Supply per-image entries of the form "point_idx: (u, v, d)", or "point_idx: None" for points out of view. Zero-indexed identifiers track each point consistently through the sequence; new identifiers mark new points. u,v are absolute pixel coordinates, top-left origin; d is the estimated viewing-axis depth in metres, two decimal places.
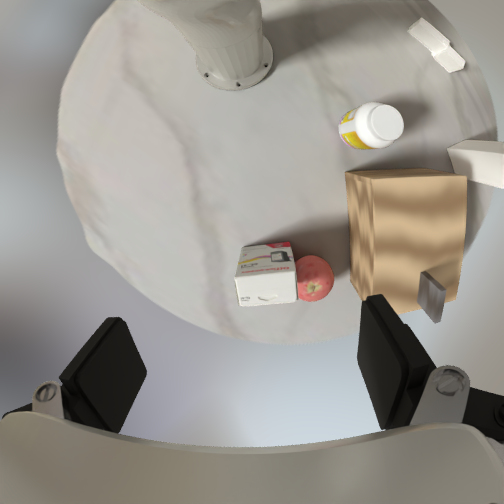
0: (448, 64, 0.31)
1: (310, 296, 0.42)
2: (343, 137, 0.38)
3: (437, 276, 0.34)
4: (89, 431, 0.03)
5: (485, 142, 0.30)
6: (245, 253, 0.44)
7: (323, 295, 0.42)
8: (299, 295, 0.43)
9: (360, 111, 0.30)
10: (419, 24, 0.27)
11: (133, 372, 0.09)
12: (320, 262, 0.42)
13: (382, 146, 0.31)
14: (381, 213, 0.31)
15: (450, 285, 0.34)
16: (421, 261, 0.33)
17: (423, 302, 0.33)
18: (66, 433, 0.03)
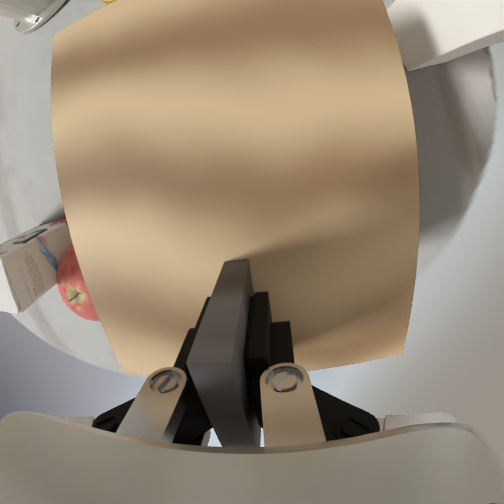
0: None
1: (75, 310, 0.20)
2: None
3: (311, 281, 0.11)
4: (89, 431, 0.03)
5: None
6: (22, 233, 0.22)
7: None
8: None
9: None
10: None
11: None
12: None
13: None
14: (63, 94, 0.09)
15: (377, 313, 0.12)
16: (217, 222, 0.11)
17: None
18: (66, 433, 0.03)
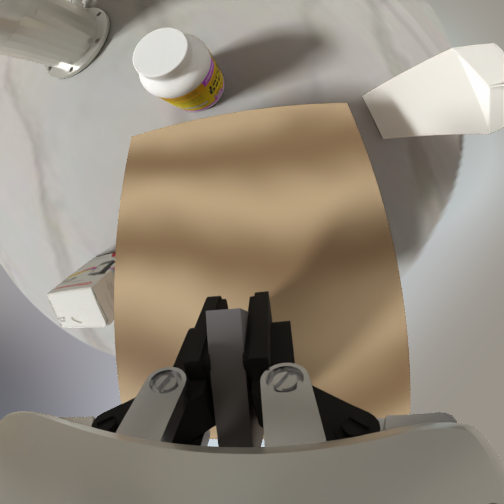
0: None
1: None
2: None
3: (313, 338, 0.13)
4: (90, 431, 0.03)
5: None
6: (85, 265, 0.32)
7: None
8: None
9: None
10: None
11: None
12: None
13: (175, 91, 0.19)
14: (134, 181, 0.17)
15: (377, 369, 0.12)
16: (238, 286, 0.14)
17: None
18: (66, 433, 0.03)
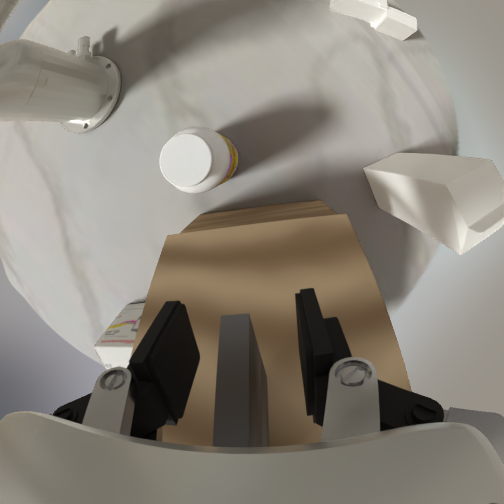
0: (397, 31, 0.23)
1: None
2: None
3: None
4: (89, 431, 0.03)
5: (418, 156, 0.25)
6: (122, 314, 0.38)
7: None
8: None
9: None
10: None
11: (191, 356, 0.10)
12: None
13: (199, 191, 0.25)
14: (165, 268, 0.21)
15: None
16: None
17: None
18: (66, 433, 0.03)
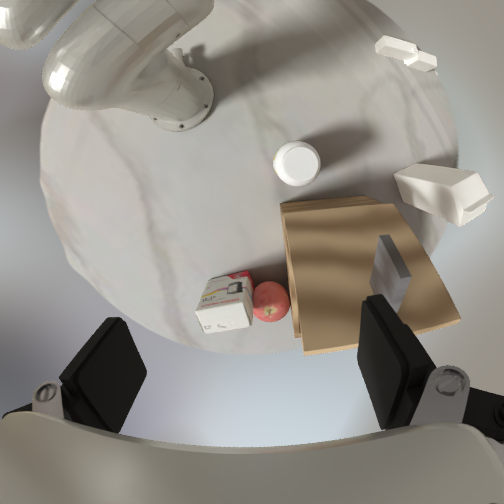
0: (423, 67, 0.35)
1: (268, 318, 0.48)
2: None
3: None
4: (90, 431, 0.03)
5: (432, 167, 0.37)
6: (209, 286, 0.50)
7: (280, 316, 0.48)
8: (259, 318, 0.49)
9: (279, 153, 0.36)
10: (386, 45, 0.32)
11: (133, 372, 0.09)
12: (273, 288, 0.48)
13: (301, 185, 0.37)
14: (294, 232, 0.33)
15: (435, 298, 0.22)
16: (364, 270, 0.27)
17: None
18: (66, 433, 0.03)
